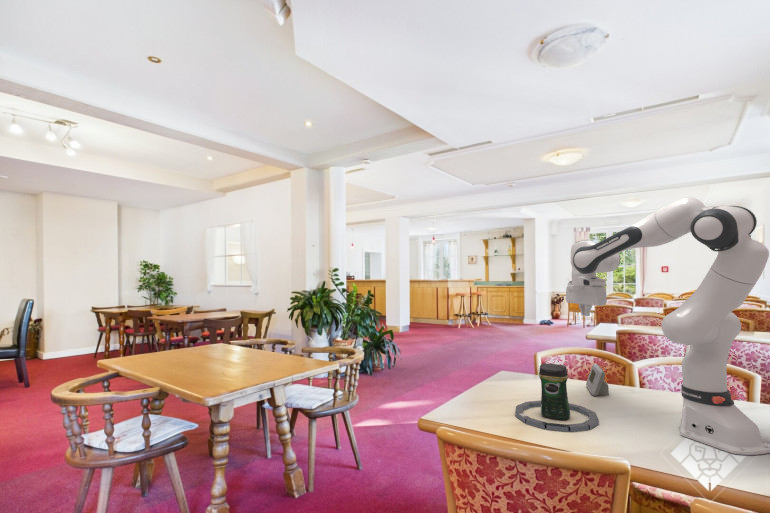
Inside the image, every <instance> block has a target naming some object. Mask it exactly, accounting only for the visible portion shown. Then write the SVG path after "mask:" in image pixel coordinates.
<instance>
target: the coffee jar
mask: <svg viewBox="0 0 770 513" xmlns="http://www.w3.org/2000/svg"><path fill="white" fill-rule="evenodd" d="M538 371H539V372H538V377H539V379H540V385H541V397H540V400H541V407H540V414H541V416H543V417H545V418H548V419H555V420H562V421H563V420H567V419H570V416H571V410H570V408H569V403H570V402H569V398H568V390H567V381H568V379H569V374H568V369H567V366H566V365H565V364H557V363H556V364H555V363H546V362H545V363H541V364H540V366H539V370H538Z"/></svg>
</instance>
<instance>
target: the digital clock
mask: <svg viewBox="0 0 770 513" xmlns="http://www.w3.org/2000/svg"><path fill="white" fill-rule="evenodd" d="M605 377H606V372H605V371H604V370H603V368H602V367H601V366H600V365H599V364H598V363H593V364H592V366H591V368H590V371H589V374H588V377H587V380H586V383H585V385H586V387H587V389H588V391H589V393H590V394H591V395H592V396H593V397H598V396H609V395H610V389H609V384H608V383H607V382H606V381H605Z"/></svg>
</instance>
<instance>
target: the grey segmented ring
mask: <svg viewBox="0 0 770 513" xmlns="http://www.w3.org/2000/svg"><path fill="white" fill-rule="evenodd" d="M531 408H541V399H540V400H531V401H525V402H522V403H520V404H517V405H516V406H515V411H514V412H515V413H514V414H515V418H517V419H518V420H519V421H521V422H523V423H524V424H526V425H529V426H531V425H532V427H535V428H539V429H541V428H542V430H546V431H555V432H564V433H575V432H576V433H577V432H586V431H591V430H593V429H594V428H596V427H597V426H599V425H600V424H599V423H600V419H599V417H598V414H597V413H596V412H595V411H593V410H591V409H588V408H586V407H585V406H582V405H580V404H574V403H570V402H569V408H570V411H574V410H575V411H574V412H578V413H580V414H581V415H583V414H584V416H585V415H586V417H587V416H588V419H587V420H585V421H584V422H578V423H568V424H565V423H556V422H555V423H554V422H547V421H543V420H540V419H535V418H532V417H530V416H529V415H528V414H526V413H524V410H525V411H527V410H530V409H531Z"/></svg>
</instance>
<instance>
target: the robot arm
mask: <svg viewBox="0 0 770 513" xmlns="http://www.w3.org/2000/svg"><path fill="white" fill-rule="evenodd" d="M757 223H758V220H757V217H756V215H755V214H754V212H752V210H750V209H748V208H747V207H743V206H740V205H739V206H738V205H725V206H714V207H712V208H708V207H706V205H705V204H704V203H703V202H702V201H700V200H699V199H698V198H695V197H692V196H687V197H683V198H679V199H677V200H675V201H672V202H669V204H666V205H664V206H663V207H660V208H659V209H657V210H655V211H653V212H652V213H650V214H649V215H647V216H645V217H643V218H642V219H640V220H639V221H637V222H635V223H633V224H632V225H629V226H628V227H626V228H624V229H621V230H620V231H619V232H616V233H614V234H612V235H611V236H608V237H606V238H605V239H603V240H601V241H599V242H594V241H593V240H591V239H583V240H578V241H575V242H574V243H573V244H572V245H571V249H570V264H571V267H572V268H571V274H570V275H571V280H569V281H568V283H567V286H566V289H565V301H566V303H568V304H578V308H579V310H580V315H581V316H583V317H584V316H585V317H590V315H591V310H592V309H593V308H592V306H597V307H599V306H600V307H604V306H606V304H607V298H608V297H607V290H606V287H605V286H606V285H607V281H606V280H605V279H603V278H601V277H599V276H597V274H598V273H600V274H601V273H610V272H614V271H615V270H617V269H618V268H619V266H620V264H621V256H620V254H619V253H621V252H624V251H627V250H630V249H631V250H632V249H637V248H638V249H639V248H652V247H659V246H662V245H666V244H668V243H672V242H673V241H675V240H678V239H679V238H682V237H683V236H685V235H687V234H689V233H691V235H692V237H693V238H694V239H695V240H697V241H698V242H699V243H701V244H703V245H704V246H706V247H707V248H708V249H710V250H711V251H712V252H717V256H716V258H715V259H714V262H713V263H712V265H711V266H710V267H709V270H708V271H707V273H706V275H705V277H704V278H703V279H702V281H701V282H700V284H699V286H698V287H697V289H695V291H694V292H693V293H692V294H691V295H690V296H688V297H687V299H686V300H685V301H684V302H683V303H682V304H681V305H680V306H678V307H677V308H676V309H675V310H673V311H671V312H670V313H668V314H666V315H665V316H664V317H663V319H662V321H661V325H660V326H661V331H662V333H663V335H664V336H665V338H666V339H668V341H669V342H672V343H675V344H678V345H684V346H685V345H686V346H690V347H689V350H688V352H687V353H686V355H685V356H683V358H682V360H681V373H682V384H681V389H680V390H681V391H680V392H681V397H682V398H683V400H682V411H681V419H680V424H679V427H678V428H679V435H680V436H681V437H685V438H688V439H689V440H690V439H691V440H692V441H696V442H698V443H702V444H705V445H707V446H710V447H713V448H715V449H719V450H722V451H725V452H727V453H730V454H733V455H735V454H736V455H743V456H755V455H756V456H757V455H765V454H769V453H770V443H767V442H765V441H763V440H762V436H761V431H760V429H759V427H758V425H757V424H756V423H755V422H754V421H753V420H752V419H750V417H748V416H747V415H746V414H745V413H744V412H743V411H742V410H741V409H740V408H739V407H737V405H735V402H734V401H736V400H737V401H738V396H737V395H731V392H730V390H729V389H728V378H727V377H728V376H727V370H728V369H727V366H728V365H727V364H728V359H729V354H730V351H731V347H732V345H733V342H734V340H735V339H736V337H738V336H739V334H740V333H741V330H742V323H741V320H740V318H739V317H738V316H737V315H736V314H735V313H734V312H733V311H734V310H736V309H739V308H740V307H741V306H742V305H743V304H744V302H745V301H746V300H747V298H748V296H749V294H751V291H752V290H753V289H754V287H755V285H756V284H757V282H758V281H759V279H760V278H761V275H762V273H763V272H764V269H765V268H766V265H767V263H768V261H769V260H768V259H769V257H770V252H769V249H768V247H767V246H766V245H764V243H761V242H760V241H758V240H755V239H753V238H751V234H752V233H753V232H754V231H755V229H756V227H757Z"/></svg>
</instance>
